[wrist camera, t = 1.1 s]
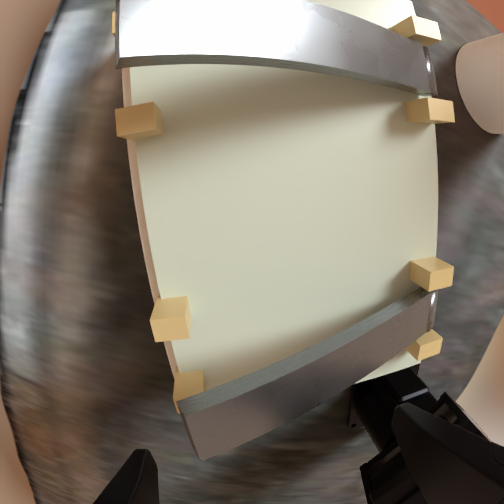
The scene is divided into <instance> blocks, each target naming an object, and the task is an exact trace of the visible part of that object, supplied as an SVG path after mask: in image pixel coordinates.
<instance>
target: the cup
mask: <svg viewBox="0 0 504 504" xmlns="http://www.w3.org/2000/svg"><path fill="white" fill-rule="evenodd" d="M456 79H457V84H458V88H459V92H460V95H461V97H462V100H463V102H464V105H465V107H466V109H467V110H468V112H469V114H470V115H471V117H472V118H473V120H474V121H475V122H476V123H477V124H478V125H479V126H480V127H481V128H482V129H483V130H485V131H487V132H489V133H492V134H504V33H502V34H498V35H494V36H491V37H487V38H484V39H480V40H477V41H474V42H470V43H467V44H465V45H463V46H462V47H461V48H460V50H459V52H458V54H457V58H456Z"/></svg>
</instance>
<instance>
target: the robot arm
mask: <svg viewBox="0 0 504 504" xmlns="http://www.w3.org/2000/svg"><path fill="white" fill-rule="evenodd" d="M419 366H420V363H419V364H416V365H413V366H410V367H408V368H405V369H402V370H399V371H395V372H392V373H389V374H386V375H383V376H380V377H376V378H373V379H369V380H366V381H362V382H359V383H355V384H353V385H352V388H351V397H350V406H349V414H348V421H347V426H348V428H349V429H354V428H358V427H361V426H365V428H366V430H367V432H368V433H369V435H370V437H371V439H372V440H373V442H374V444H375V445H376V447H377V449H378V451H379V452H380V453H379V454H378V455H376V456H375V457H374V458H373V459H371V460H370V461H369V462H367V463H364V464H363V465H362V466H360V471H361V477H362V481H363V485H364V490H365V494H366V499H367V503H368V504H504V447H503V446H501V445H498V444H496V443H494V442H491V441H490V439H489V438H488V437H487V436H486V434H485V433H484V432H483V431H482V430H481V428H480V427H479V426H478V425H477V423H476V422H475V421H474V420H473V419H472V418H471V417H470V416H469V415H468V414H467V413H466V412H465V411H464V409H463V408H461V406H459V405H458V404H457V403H456V402H455V401H454V400H453V399H452V398H451V397H450V396H449V395H448V394H447V393H446V392H444V393H443V394H442V395H441V396H440V399H439V400H438V401H437V400H436V399H435V398H434V396H433V395H432V394H431V393H430V392H429V388H428V387H427V386H426V385H425V383H424V382H423V381H422V380H421V379H420V378H419V377H418V376H417V374H418V370H419ZM93 504H159V490H158V469H157V465H156V462H155V461H154V459H153V457H152V455H151V453H150V451H149V450H148V449H136V450H134V451H133V453H132V454H131V455H130V457H129V458H128V459H127V460H126V462H125V463H124V464H123V466H122V467H121V468H120V470H119V471H118V472H117V473H116V475H115V476H114V477H113V479H112V480H111V481H110V482H109V484H108V485H107V486H106V488H105V489H104V490H103V491H102V493H101V494H100V495H99V496H98V498H97V499H96V500H95V502H94V503H93Z"/></svg>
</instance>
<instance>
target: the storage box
mask: <svg viewBox="0 0 504 504" xmlns="http://www.w3.org/2000/svg"><path fill="white" fill-rule="evenodd" d="M308 1H311V2H315V3H318V4H321V5H325V6H328V7H331V8H334V9H337V10H340V11H343V12H346V13H349V14H351V15H354V16H357V17H359V18H362V19H365V20H367V21H370V22H372V23H375V24H377V25H379V26H382V27H384V28H386V29H389V30H391V31H393V32H395V33H398V34H400V35H402V36H404V37H406V38H408V39H410V40H412V41H414V42H416V43H418V44H420V45H422V46H429V45H431V44H434V43H436V42H439V41H441V35H440V31H439V27H438V23H437V22H434V21H431V20H427V19H424V18H420V17H417V16H416V15H415V11H414V7H413V4H412V1H409V0H308ZM112 34H113V35H114V36H115V12H113V16H112ZM122 85H123V101H124V107H123V108H119V109H115V119H116V131H117V137H120V138H124V139H127V147H128V156H129V164H130V172H131V180H132V187H133V194H134V201H135V207H136V214H137V220H138V226H139V232H140V237H141V243H142V248H143V253H144V258H145V263H146V268H147V273H148V278H149V283H150V287H151V292H152V296H153V300H154V305H155V306H154V309H153V312H152V315H151V318H150V324H151V327H152V331H153V335H154V339H155V342H163V341H164V345H165V348H166V352H167V356H168V359H169V363H170V366H171V370H172V373H173V376H174V380H175V382H174V392H173V401H174V404H175V407H176V410H177V413H178V414H180V411H179V408H178V405H177V402H176V401H179V400H182V399H185V398H188V397H190V396H193V395H196V394H199V393H201V392H204V391H207V390H209V389H212V388H215V387H217V386H220V385H223V384H225V383H228V382H230V381H233V380H235V379H238V378H240V377H243V376H245V375H248V374H250V373H252V372H255V371H257V370H259V369H262V368H264V367H266V366H269V365H271V364H273V363H276V362H278V361H280V360H282V359H285V358H287V357H289V356H291V355H293V354H296V353H298V352H300V351H302V350H304V349H306V348H308V347H310V346H312V345H315V344H317V343H319V342H321V341H323V340H325V339H327V338H329V337H331V336H333V335H335V334H337V333H339V332H341V331H343V330H345V329H347V328H349V327H350V326H352V325H354V324H356V323H358V322H360V321H362V320H364V319H366V318H367V317H369V316H371V315H373V314H375V313H377V312H378V311H380V310H382V309H384V308H385V307H387V306H389V305H391V304H393V303H394V302H396V301H398V300H399V299H401V298H403V297H405V296H406V295H408V294H410V293H411V292H413V291H415V290H416V289H418V288H419V287H420V286H421V287H422V288H424V289H425V290H427V291H428V292H430V291H433V290H437V289H441V288H445V287H448V286H452V280H453V272H454V266H452V265H450V264H448V263H446V262H444V261H442V260H440V259H438V258H436V247H437V227H438V165H437V146H436V133H435V124H438V123H451V122H455V118H454V109H453V101H448V100H442V99H436V98H432V96H426V97H424V96H419V95H417V94H414V93H410V92H407V91H403V90H399V89H395V88H392V87H388V86H383V85H379V84H375V83H370V82H366V81H361V80H356V79H351V78H346V77H340V76H335V75H329V74H323V73H316V72H309V71H301V70H293V69H284V68H274V67H263V66H248V65H227V64H176V65H154V66H140V67H129V68H122ZM442 340H443V338H442V337H441V336H440V335H439V334H437V333H436V332H435V331H434V330H432V329H431V331H429V332H426V333H425V334H424V335H422V336H421V337H420V338H418V339H417V340H416V341H415V342H413V343H412V344H411V345H409V346H408V347H407V348H405V349H404V350H403V351H401V352H400V353H398V354H397V355H396V356H394V357H393V358H392V359H390V360H389V361H387V362H386V363H384V364H383V365H382V366H380V367H379V368H377V369H376V370H374V371H373V372H371V373H370V374H368V375H367V376H365V377H364V378H362V379H361V380H359V381H358V382H356V383H359V382H362V381H366V380H369V379H373V378H376V377H380V376H383V375H386V374H389V373H392V372H395V371H399V370H402V369H405V368H408V367H410V366H413V365H416V364H419V363H421V360H422V359H425V358H428V357H430V356H433V355H436V354H439V353H440V349H441V344H442Z"/></svg>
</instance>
